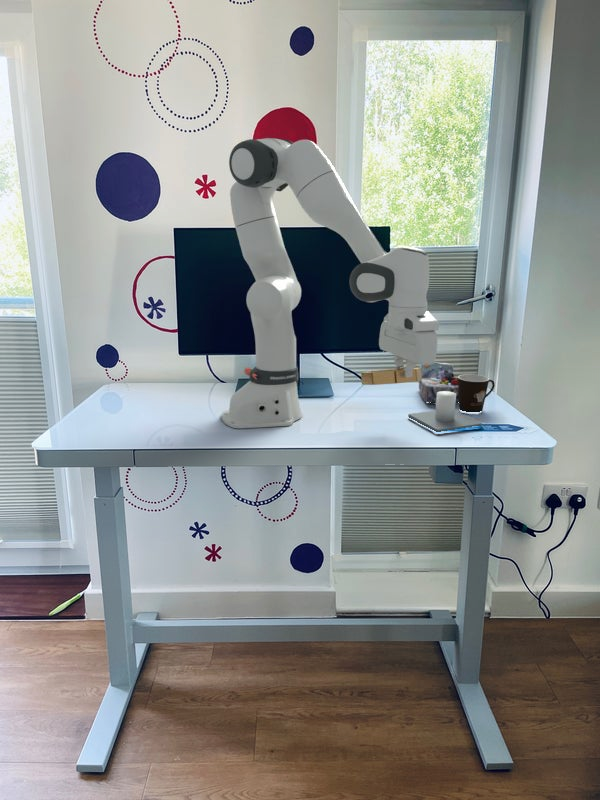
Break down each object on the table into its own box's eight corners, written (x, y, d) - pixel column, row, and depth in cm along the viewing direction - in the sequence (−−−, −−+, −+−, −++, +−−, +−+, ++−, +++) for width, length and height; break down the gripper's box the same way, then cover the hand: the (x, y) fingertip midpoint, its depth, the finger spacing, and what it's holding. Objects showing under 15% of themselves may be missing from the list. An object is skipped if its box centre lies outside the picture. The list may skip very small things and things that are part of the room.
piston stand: (437, 435, 149) (439, 403, 147) (408, 419, 162) (409, 389, 159) (482, 428, 154) (485, 397, 152) (450, 413, 166) (452, 384, 164)
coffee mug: (459, 416, 164) (462, 381, 161) (451, 406, 173) (454, 374, 170) (500, 416, 164) (504, 381, 161) (491, 407, 172) (494, 374, 170)
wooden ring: (380, 385, 137) (379, 372, 137) (354, 384, 150) (353, 372, 150) (431, 379, 142) (430, 367, 142) (401, 379, 155) (400, 368, 155)
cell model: (449, 357, 188) (473, 373, 170) (446, 389, 192) (470, 408, 173) (410, 357, 187) (430, 374, 168) (407, 389, 190) (427, 409, 171)
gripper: (374, 312, 144) (371, 366, 148) (419, 325, 126) (415, 386, 130) (396, 311, 147) (393, 364, 151) (443, 323, 128) (439, 384, 132)
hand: (404, 375), depth 140 cm, fingers closed on wooden ring, 2 cm apart
